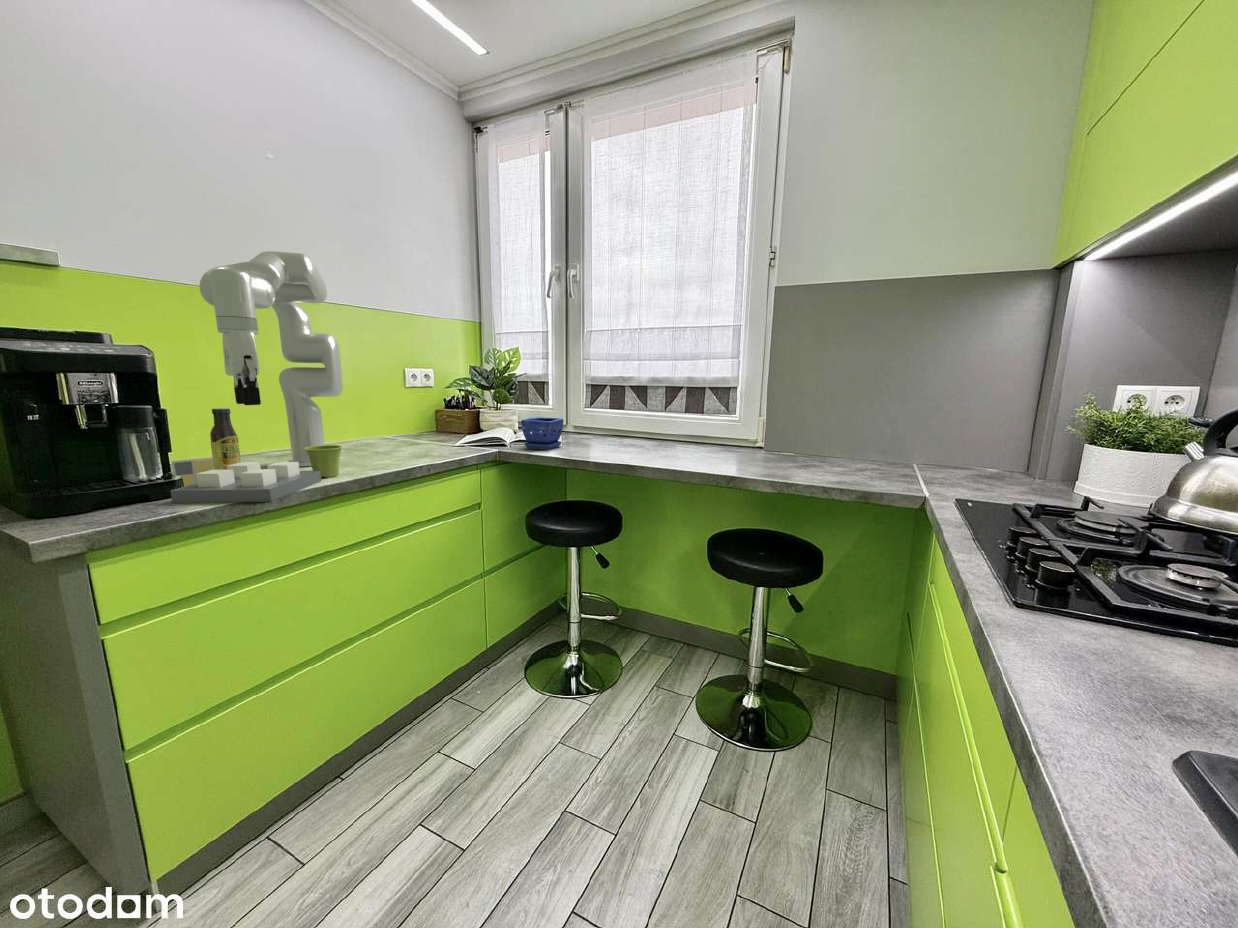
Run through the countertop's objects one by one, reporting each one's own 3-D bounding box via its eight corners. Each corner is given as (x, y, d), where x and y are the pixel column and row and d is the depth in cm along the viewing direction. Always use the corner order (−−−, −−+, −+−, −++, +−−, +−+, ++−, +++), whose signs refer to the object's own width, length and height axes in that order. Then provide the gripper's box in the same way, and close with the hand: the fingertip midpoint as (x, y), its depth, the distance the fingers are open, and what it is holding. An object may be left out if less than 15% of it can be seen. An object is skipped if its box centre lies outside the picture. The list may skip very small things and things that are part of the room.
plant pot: (332, 471, 148) (329, 444, 147) (352, 474, 144) (349, 446, 142) (300, 477, 140) (297, 448, 138) (321, 480, 136) (317, 450, 134)
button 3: (256, 484, 121) (254, 469, 120) (277, 484, 121) (275, 469, 121) (242, 489, 116) (240, 473, 115) (264, 489, 116) (262, 473, 116)
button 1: (214, 485, 120) (211, 469, 120) (235, 485, 121) (233, 469, 120) (198, 490, 115) (196, 473, 115) (220, 489, 116) (218, 473, 115)
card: (176, 491, 123) (171, 460, 122) (216, 486, 128) (212, 457, 127) (176, 492, 123) (171, 461, 121) (217, 487, 128) (212, 457, 126)
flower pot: (565, 446, 201) (564, 418, 199) (549, 451, 189) (549, 420, 186) (537, 444, 206) (536, 416, 203) (520, 449, 193) (519, 419, 191)
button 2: (242, 477, 130) (240, 462, 129) (261, 476, 130) (259, 462, 130) (228, 481, 125) (226, 465, 125) (249, 480, 126) (246, 465, 125)
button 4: (281, 476, 131) (279, 462, 130) (300, 476, 131) (298, 461, 130) (269, 480, 126) (267, 465, 125) (289, 480, 126) (287, 465, 126)
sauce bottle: (227, 479, 137) (216, 409, 134) (209, 478, 138) (198, 409, 135) (248, 474, 144) (239, 407, 140) (231, 473, 145) (221, 407, 141)
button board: (238, 482, 134) (237, 471, 133) (321, 481, 135) (320, 470, 135) (172, 503, 112) (170, 490, 112) (271, 501, 114) (269, 489, 113)
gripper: (209, 327, 115) (220, 403, 118) (225, 322, 103) (237, 406, 107) (248, 329, 120) (257, 402, 123) (267, 325, 109) (277, 405, 112)
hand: (248, 403), depth 115 cm, fingers open, 6 cm apart
